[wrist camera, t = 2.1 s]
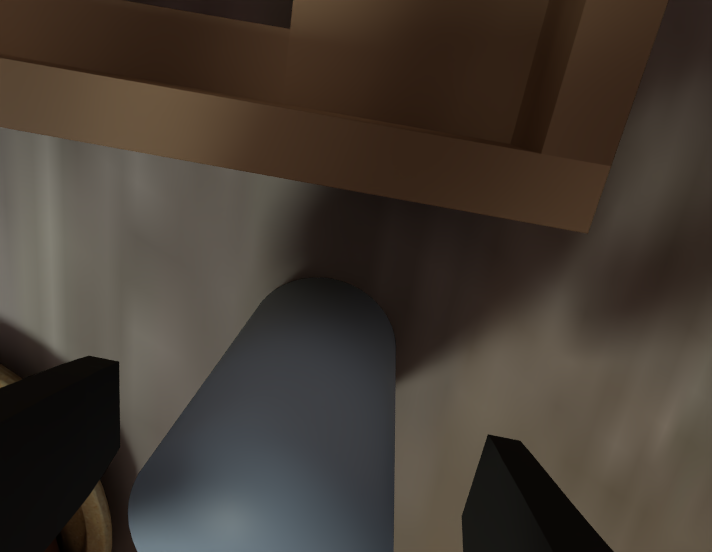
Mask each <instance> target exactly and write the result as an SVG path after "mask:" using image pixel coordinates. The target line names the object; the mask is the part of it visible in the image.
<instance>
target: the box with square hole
mask: <svg viewBox="0 0 712 552" xmlns="http://www.w3.org/2000/svg"><path fill="white" fill-rule="evenodd" d="M668 1H669V0H293V7H292V16H291V26H290V29H287V28H281V27H275V26H269V25H263V24H258V23H252V22H246V21H240V20H235V19H229V18H223V17H217V16H211V15H206V14H200V13H194V12H188V11H182V10H177V9H171V8H165V7H159V6H154V5H148V4H142V3H136V2H130V1H125V0H0V127H3V128H9V129H14V130H20V131H25V132H31V133H36V134H42V135H47V136H53V137H58V138H64V139H69V140H75V141H80V142H86V143H91V144H97V145H102V146H108V147H113V148H119V149H125V150H130V151H136V152H141V153H147V154H152V155H158V156H163V157H169V158H174V159H180V160H185V161H191V162H196V163H202V164H207V165H213V166H218V167H224V168H229V169H235V170H240V171H246V172H251V173H257V174H262V175H268V176H273V177H279V178H284V179H290V180H295V181H301V182H306V183H312V184H317V185H323V186H328V187H334V188H339V189H345V190H350V191H356V192H361V193H367V194H372V195H378V196H384V197H389V198H395V199H400V200H406V201H411V202H417V203H422V204H428V205H433V206H439V207H444V208H450V209H455V210H461V211H466V212H472V213H477V214H483V215H488V216H494V217H499V218H505V219H510V220H516V221H521V222H527V223H532V224H538V225H543V226H549V227H554V228H560V229H565V230H571V231H576V232H582V233H587V234H588V232H589V229H590V226H591V223H592V220H593V217H594V214H595V211H596V209H597V206H598V203H599V200H600V197H601V194H602V191H603V188H604V185H605V183H606V180H607V177H608V174H609V171H610V168H611V165H612V162H613V159H614V157H615V154H616V151H617V148H618V145H619V142H620V139H621V136H622V134H623V131H624V128H625V125H626V122H627V119H628V116H629V113H630V110H631V108H632V105H633V102H634V99H635V96H636V93H637V90H638V87H639V84H640V82H641V79H642V76H643V73H644V70H645V67H646V64H647V61H648V58H649V56H650V53H651V50H652V47H653V44H654V41H655V38H656V35H657V32H658V30H659V27H660V24H661V21H662V18H663V15H664V12H665V9H666V7H667V4H668Z"/></svg>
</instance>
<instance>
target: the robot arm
mask: <svg viewBox="0 0 712 552" xmlns="http://www.w3.org/2000/svg"><path fill="white" fill-rule="evenodd" d="M119 448H120V398H119V362H118V361H113V360H108V359H103V358H98V357H93V356H87V357H83V358H80V359H77V360H74V361H71V362H68V363H65V364H62V365H59V366H57V367H54V368H51V369H48V370H46V371H43V372H41V373H38V374H35V375H33V376H30V377H27V378H25V379H22V380H20V381H17V382H14V383H12V384H9V385H7V386H4V387H1V388H0V552H44V551H45V550H46V549H47V547H48V546H49V545H50V544H51V543H52V541H53V540H54V539H55V538H56V536H57V535H58V534H59V533H60V532H61V530H62V529H63V528H64V527H65V525H66V524H67V523H68V522H69V520H70V519H71V518H72V517H73V515H74V514H75V513H76V512H77V510H78V509H79V508H80V507H81V505H82V504H83V503H84V502H85V500H86V499H87V498H88V496H89V495H90V494H91V492H92V491H93V489H94V488H95V486H96V485H97V483H98V481H99V480H100V478H101V477H102V475H103V474H104V472H105V471H106V469H107V467H108V466H109V464H110V462H111V461H112V459H113V458H114V456H115V454H116V453H117V451H118V449H119ZM462 533H463V552H614V551H613V550H612V549H611V548H610V547H609V546H608V545H607V544H606V542H605V541H604V540H603V539H602V538H601V537H600V536H599V534H598V533H597V532H596V531H595V530H594V529H593V527H592V526H591V525H590V524H589V523H588V522H587V520H586V519H585V518H584V517H583V516H582V515H581V513H580V512H579V511H578V510H577V509H576V507H575V506H574V505H573V504H572V503H571V501H570V500H569V499H568V498H567V497H566V495H565V494H564V493H563V492H562V490H561V489H560V488H559V487H558V486H557V484H556V483H555V482H554V481H553V479H552V478H551V477H550V476H549V475H548V473H547V472H546V471H545V470H544V468H543V467H542V466H541V465H540V464H539V462H538V461H537V460H536V459H535V457H534V456H533V455H532V454H531V453H530V452H529V450H528V449H527V448H526V447H525V446H524V445H523V443H522V442H521V441H518V440H513V439H508V438H503V437H498V436H493V435H488V436H487V439H486V442H485V445H484V448H483V451H482V455H481V458H480V461H479V464H478V467H477V470H476V473H475V477H474V480H473V483H472V486H471V489H470V492H469V495H468V498H467V502H466V505H465V508H464V511H463V514H462Z"/></svg>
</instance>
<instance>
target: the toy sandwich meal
mask: <svg viewBox="0 0 712 552" xmlns="http://www.w3.org/2000/svg"><path fill="white" fill-rule="evenodd" d="M20 380H22V378H21V377H19V376H18V375H17V374H15V373H14V372H12V371H11V370H9V369H8V368H6V367H4V366H3V365H1V364H0V388H1V387H4V386H7V385H9V384H12V383H14V382H17V381H20ZM111 550H112V523H111V516H110V510H109V506H108V502H107V499H106V495H105V492H104V489H103V486H102V483H101V481H100V480H99V481H98V483H97V485H96V486H95V488H94V489H93V491H92V492H91V494H90V495H89V496H88V498H87V499H86V500H85V502H84V503H83V504H82V505H81V507H80V508H79V509H78V510H77V512H76V513H75V514H74V515H73V517H72V518H71V519H70V520H69V522H68V523H67V524H66V525H65V527H64V528H63V529H62V530H61V532H60V533H59V534H58V535H57V536H56V538H55V539H54V540H53V541H52V543H51V544H50V545H49V546H48V547H47V549H46V550H45V551H44V552H111Z"/></svg>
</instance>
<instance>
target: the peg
mask: <svg viewBox="0 0 712 552" xmlns="http://www.w3.org/2000/svg"><path fill="white" fill-rule="evenodd" d="M395 380H396V342H395V336H394V332H393V329H392V326H391V324H390V322H389V319H388V317H387V316H386V314H385V313H384V311H383V310H382V309H381V307H380V306H379V305H378V304H377V303H376V302H375V301H374V300H373V299H372V298H371V297H370V296H369V295H367V294H366V293H364V292H363V291H362V290H360V289H358V288H356V287H354V286H352V285H350V284H348V283H345V282H342V281H339V280H335V279H329V278H305V279H299V280H296V281H292V282H289V283H287V284H285V285H282V286H281V287H279V288H277V289H276V290H274V291H273V292H272V293H270V294H269V295H268V296H267V297H266V298H265V299H264V300H263V301H262V302H261V303H260V305H259V306H258V308H257V309H256V310H255V312H254V313H253V315H252V316H251V317H250V319H249V320H248V322H247V323H246V324H245V326H244V327H243V329H242V330H241V331H240V333H239V334H238V336H237V337H236V338H235V340H234V341H233V343H232V344H231V345H230V347H229V348H228V350H227V351H226V352H225V354H224V355H223V357H222V358H221V359H220V361H219V362H218V363H217V365H216V366H215V368H214V369H213V370H212V372H211V373H210V375H209V376H208V377H207V379H206V380H205V382H204V383H203V384H202V386H201V387H200V389H199V390H198V391H197V393H196V394H195V396H194V397H193V398H192V400H191V401H190V403H189V404H188V405H187V407H186V408H185V410H184V411H183V412H182V414H181V415H180V416H179V418H178V419H177V421H176V422H175V423H174V425H173V426H172V428H171V429H170V430H169V432H168V433H167V435H166V436H165V437H164V439H163V440H162V442H161V443H160V444H159V446H158V447H157V449H156V450H155V451H154V453H153V454H152V456H151V457H150V458H149V460H148V461H147V463H146V464H145V465H144V467H143V468H142V470H141V471H140V472H139V474H138V476H137V478H136V480H135V482H134V484H133V486H132V490H131V494H130V497H129V505H128V520H129V528H130V532H131V536H132V540H133V542H134V545H135V547H136V549H137V552H393V545H394V462H395Z"/></svg>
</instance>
